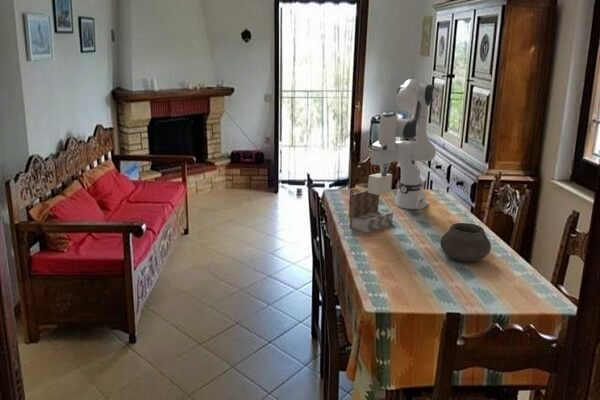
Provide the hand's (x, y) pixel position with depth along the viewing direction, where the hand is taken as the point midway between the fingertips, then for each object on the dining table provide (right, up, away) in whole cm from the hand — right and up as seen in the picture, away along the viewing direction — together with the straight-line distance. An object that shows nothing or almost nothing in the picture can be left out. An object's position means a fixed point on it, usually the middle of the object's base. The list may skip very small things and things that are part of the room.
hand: (384, 171), depth 264 cm
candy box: (-12, -24, +24) cm, 36 cm away
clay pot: (+31, -41, -29) cm, 60 cm away
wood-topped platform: (-5, -28, +10) cm, 30 cm away
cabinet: (-2, -10, +4) cm, 11 cm away
